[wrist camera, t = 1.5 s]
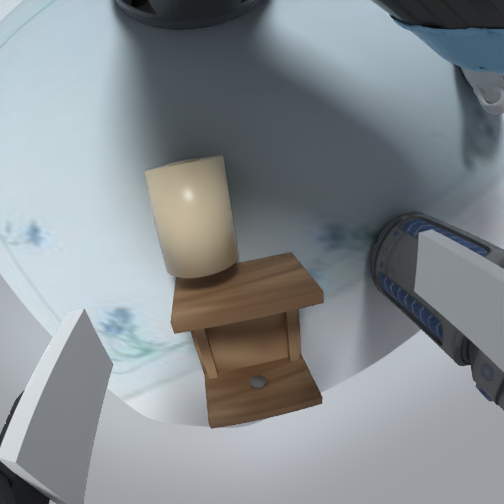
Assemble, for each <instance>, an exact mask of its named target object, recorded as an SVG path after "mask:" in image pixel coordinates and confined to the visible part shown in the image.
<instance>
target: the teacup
mask: <svg viewBox="0 0 504 504" xmlns="http://www.w3.org/2000/svg"><path fill="white" fill-rule="evenodd" d="M461 69H462V72H463V74H464V76H465V78H466V80H467V81H468V83H469V84H470V85H471V86H472V88H473V92H474V93H475V95H476V96H477V97H478V100H479V102H480V104H481V106H482V108H483V109H484V110H485V111H486V112H487V113H489V114H491V115H500V114H502V113H504V75H502V74H496V73H494V72H477V71H471V70H468V69H465V68H462V67H461ZM486 100H487V101H489V102H493V104H488V103H487V102H486Z"/></svg>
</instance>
